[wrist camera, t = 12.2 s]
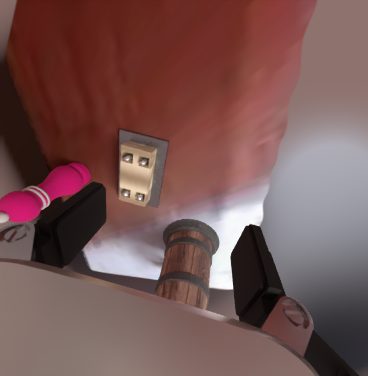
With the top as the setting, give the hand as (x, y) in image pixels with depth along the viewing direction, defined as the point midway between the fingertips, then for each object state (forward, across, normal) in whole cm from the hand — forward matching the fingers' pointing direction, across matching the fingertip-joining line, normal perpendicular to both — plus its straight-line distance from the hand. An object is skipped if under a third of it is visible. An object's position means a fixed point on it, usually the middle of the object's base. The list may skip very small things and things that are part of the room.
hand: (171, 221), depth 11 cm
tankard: (+29, -4, +34) cm, 45 cm away
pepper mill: (+28, +29, +17) cm, 44 cm away
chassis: (+28, +12, +12) cm, 33 cm away
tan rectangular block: (+27, +12, +12) cm, 32 cm away
